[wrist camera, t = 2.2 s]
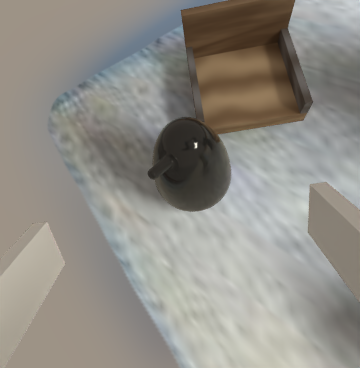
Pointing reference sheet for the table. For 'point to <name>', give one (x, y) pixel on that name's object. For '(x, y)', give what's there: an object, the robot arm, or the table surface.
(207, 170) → the pump dispenser
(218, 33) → the stand
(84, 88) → the table surface
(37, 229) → the robot arm
